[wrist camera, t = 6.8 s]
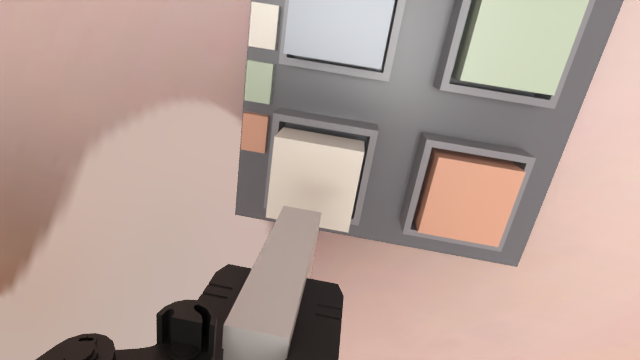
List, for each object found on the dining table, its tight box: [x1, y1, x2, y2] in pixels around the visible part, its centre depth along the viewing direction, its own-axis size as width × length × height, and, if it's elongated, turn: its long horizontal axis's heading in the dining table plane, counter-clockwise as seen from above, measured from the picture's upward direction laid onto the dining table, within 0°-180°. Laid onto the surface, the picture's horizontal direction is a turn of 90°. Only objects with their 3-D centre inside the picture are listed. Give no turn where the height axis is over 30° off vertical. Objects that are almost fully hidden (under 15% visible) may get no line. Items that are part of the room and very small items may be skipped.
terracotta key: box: [414, 147, 526, 247], centre depth 22 cm, size 5×5×2 cm
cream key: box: [266, 127, 364, 233], centre depth 21 cm, size 5×5×2 cm
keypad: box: [235, 0, 624, 267], centre depth 22 cm, size 20×19×3 cm
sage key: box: [451, 0, 589, 96], centre depth 19 cm, size 5×5×2 cm
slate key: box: [283, 0, 395, 69], centre depth 18 cm, size 5×5×2 cm
